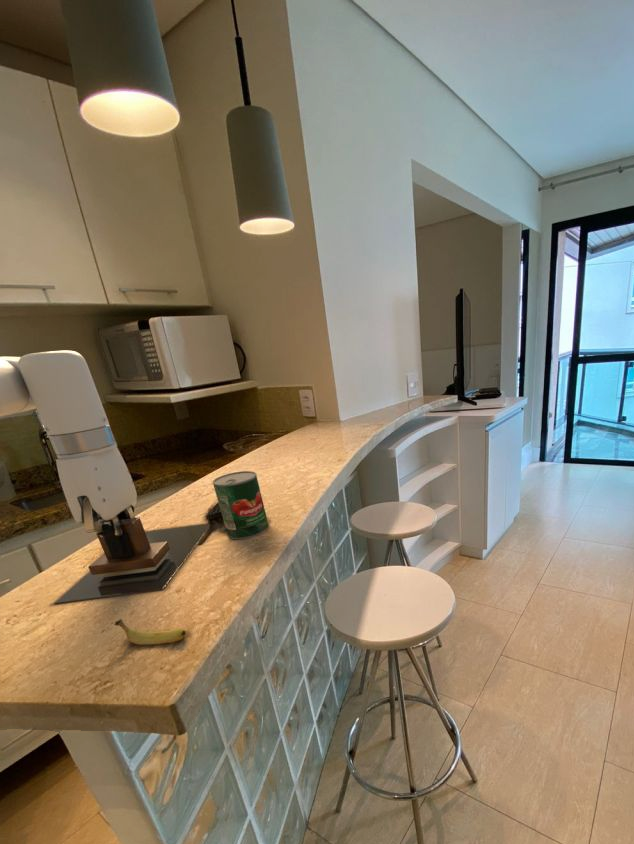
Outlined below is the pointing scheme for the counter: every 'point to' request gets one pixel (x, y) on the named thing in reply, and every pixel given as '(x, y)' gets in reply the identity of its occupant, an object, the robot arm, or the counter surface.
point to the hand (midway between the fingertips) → (128, 551)
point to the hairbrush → (214, 512)
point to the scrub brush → (144, 553)
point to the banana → (151, 635)
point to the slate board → (180, 549)
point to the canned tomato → (241, 504)
